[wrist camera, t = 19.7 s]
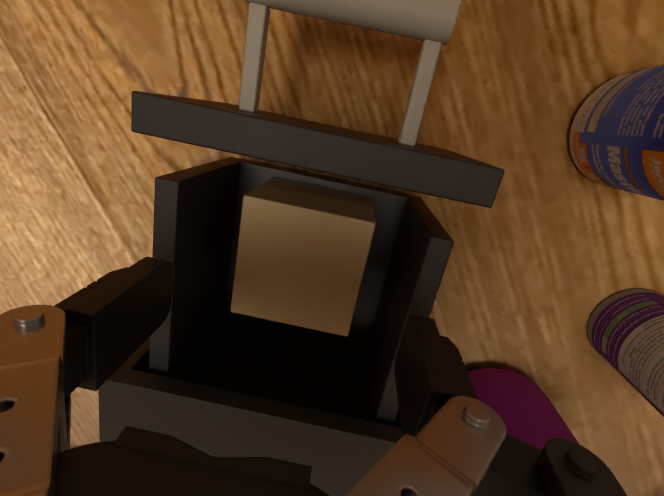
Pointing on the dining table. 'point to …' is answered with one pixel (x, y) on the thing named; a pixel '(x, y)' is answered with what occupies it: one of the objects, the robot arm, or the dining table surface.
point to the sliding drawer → (319, 155)
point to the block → (302, 254)
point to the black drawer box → (243, 424)
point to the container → (633, 340)
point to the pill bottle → (623, 133)
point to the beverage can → (520, 406)
